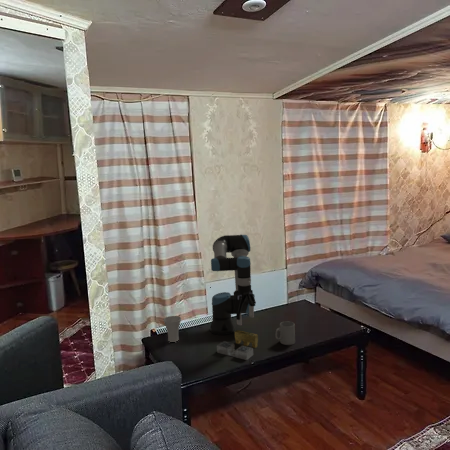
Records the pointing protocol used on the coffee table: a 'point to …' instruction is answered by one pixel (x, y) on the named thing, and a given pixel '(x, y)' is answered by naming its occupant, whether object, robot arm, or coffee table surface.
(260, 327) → the coffee table surface
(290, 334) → the mug
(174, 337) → the cup
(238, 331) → the yellow rectangular block
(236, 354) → the bracket
